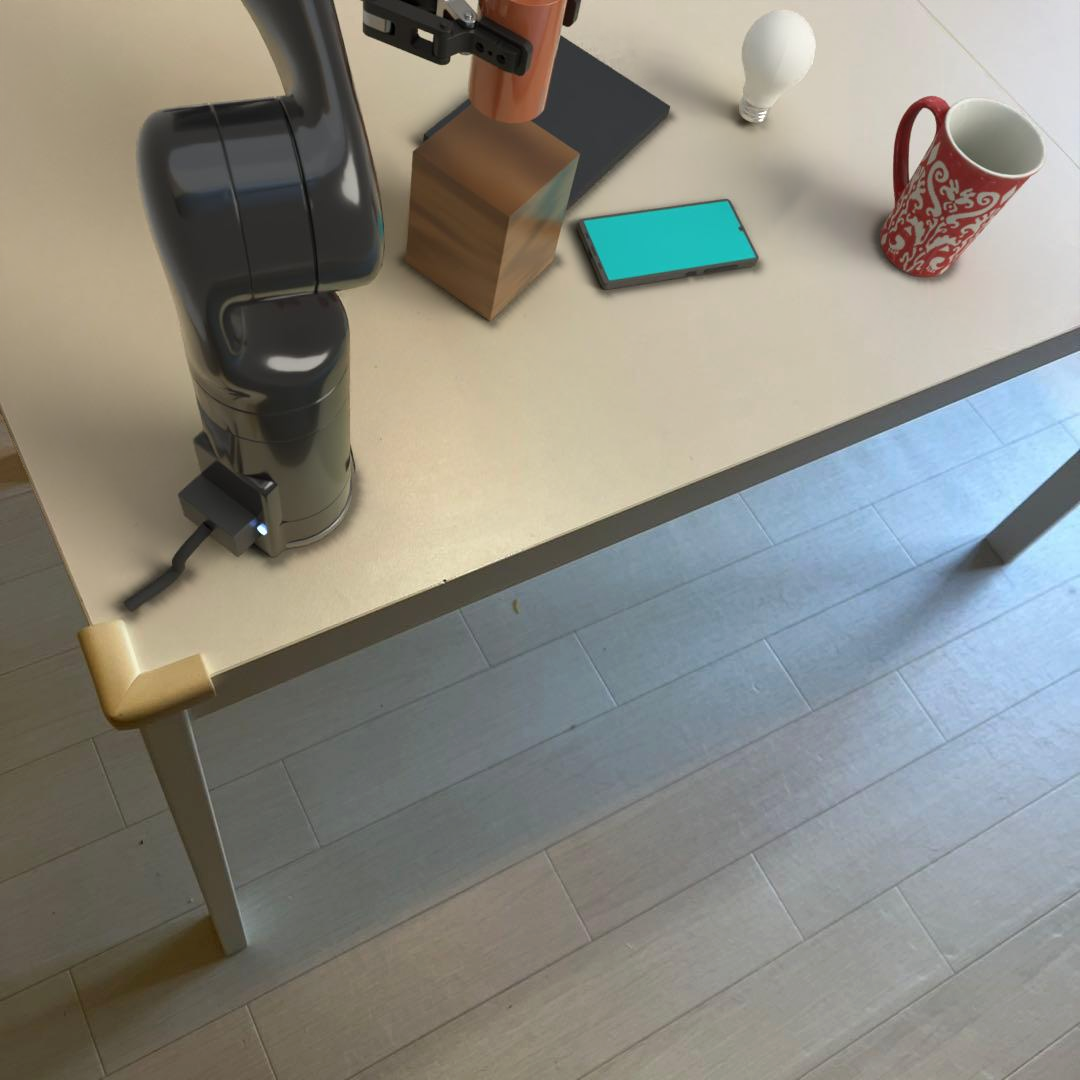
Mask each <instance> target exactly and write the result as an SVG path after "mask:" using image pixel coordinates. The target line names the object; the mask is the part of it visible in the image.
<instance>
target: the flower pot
mask: <svg viewBox="0 0 1080 1080" xmlns="http://www.w3.org/2000/svg"><path fill="white" fill-rule="evenodd" d="M567 1H568V0H477V6H476V13H477V15H478V20H477V21H479V20H481V19H482V18H483V17H484V16H485V17H487V18H489V19H491V20H492V21H494V22H496V23H498V24H499V25H501V26H503V27H505V28H507V29H509V30H511V31H512V32H514V33H516V34H518V35H520V36H522V37H523V38H525V39H527V40H529V41H530V42H531V44H532V45H533V54H532V60H531V65H530V69H529V70H528V71H527V72H526V73H525V74H524V75H523V76H517V75H516V74H514V73H509V72H505V71H503V70H501V69H499V68H497V66H494V65H492V64H491V63H488V62H486V61H485V60H483V59H481V58H479V57H477V56H476V55H474V54H471V55H470V61H469V64H470V65H469V69H468V70H469V72H468V78H467V79H468V80H467V87H466V90H467V92H466V93H467V97H468V99H470V101H471V103H472V104H473V105H474V107H475V108H476V109H477V110H478V111H479V112H481V113H482V114H484V115H485V116H487V117H489V118H491V119H494V120H496V121H500V122H505V123H523V122H527V121H530V120H532V119H534V118H536V117H537V116H539V115H540V114H541V113H542V111H543V110H544V108H545V106H546V102H547V97H548V92H549V88H550V83H551V78H552V73H553V68H554V63H555V59H556V54H557V49H558V44H559V39H560V35H561V33H562V30H563V20H564V15H565V10H566V6H567ZM561 36H562V35H561Z"/></svg>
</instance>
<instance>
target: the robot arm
mask: <svg viewBox="0 0 1080 1080" xmlns="http://www.w3.org/2000/svg"><path fill="white" fill-rule="evenodd" d="M240 1H241V3H242V5H243V6H244V8H245V9H246V11H247V13H248V14H249V16H250V18H251V20H252V21H253V24H254V25H255V27H256V29H257V31H258V32H259V35H260V37H261V38H262V40H263V42H264V44H265V46H266V49H267V50H268V53H269V55H270V57H271V60H272V62H273V64H274V67H275V69H276V71H277V74H278V77H279V80H280V82H281V86H282V88H283V89H282V90H283V92H284V94H283V95H277V96H265V97H255V98H246V99H245V98H244V99H236V100H235V99H234V100H224V101H216V102H210V103H209V102H205V103H204V102H203V103H195V104H186V105H177V106H170V107H164V108H160V109H155V111H152V112H151V113H149V114H148V115H147V116H146V117H145V118H144V120H143V122H142V124H141V126H140V128H139V131H138V135H137V140H136V145H135V146H136V147H135V167H136V175H137V182H138V188H139V194H140V199H141V204H142V207H143V211H144V214H145V218H146V221H147V225H148V228H149V232H150V236H151V238H152V242H153V244H154V247H155V251H156V253H157V256H158V260H159V261H160V262H159V263H160V265H161V268H162V271H163V274H164V276H165V279H166V282H167V285H168V288H169V291H170V294H171V297H172V301H173V304H174V307H175V312H176V317H177V321H178V324H179V329H180V334H181V339H182V345H183V349H184V355H185V359H186V362H187V366H188V370H189V373H190V378H191V382H192V386H193V390H194V395H195V399H196V403H197V408H198V411H199V412H198V413H199V416H200V421H201V425H202V428H203V429H202V430H201V431H199V432H198V433H197V434H196V435H194V437H193V438H192V445H193V448H194V452H195V456H196V460H197V464H198V468H199V471H200V473H199V474H198V475H197V476H196V477H195V478H193V479H192V480H191V481H190V482H189V483H188V484H187V485H186V486H185V487H184V488H182V489H181V490H180V491H179V492H178V493H177V497H178V499H179V503H180V506H181V509H182V512H183V515H184V517H186V518H187V519H188V520H189V521H191V522H192V523H193V524H194V525H196V526H197V528H196V529H195V531H194V532H193V533H191V535H190V536H189V537H188V538H187V539H185V541H184V542H183V543H182V545H181V546H180V547H179V548H178V549H177V551H176V552H175V553H174V555H173V557H172V558H171V566H170V567H169V568H168V569H167V570H166V571H165V572H163V573H162V574H161V575H160V576H158V578H156V579H155V580H153V581H152V582H151V583H149V584H148V585H147V586H144V587H143V588H141V589H140V590H139V591H137V592H135V593H134V594H132V595H131V596H129V597H128V598H127V599H126V600H124V601H123V602H122V603H123V605H124V607H125V608H127V609H128V611H130V612H131V613H133V612H134V611H135V610H137V609H138V608H140V607H141V606H142V605H144V604H146V603H147V602H148V601H150V600H152V599H153V598H154V597H156V596H157V595H159V594H160V593H162V592H163V591H164V590H166V589H167V588H168V587H169V586H171V585H172V584H174V583H175V581H176V580H177V579H178V578H179V577H180V576H181V575H182V574H183V572H184V571H185V569H186V562H187V561H188V559H189V558H190V557H191V556H192V555H193V553H194V552H195V551H196V550H197V549H198V548H199V547H200V545H201V544H202V543H203V542H204V541H205V540H206V539H207V538H208V537H211V538H212V539H214V540H215V541H216V542H218V543H219V544H220V545H221V546H223V547H224V548H225V549H226V550H228V551H229V553H231V554H233V555H234V556H235V557H236V558H239V557H241V556H242V554H244V553H245V552H246V551H247V550H248V549H249V548H250V547H251V546H252V545H253V544H255V545H256V546H257V547H259V549H261V550H262V551H263V552H264V553H266V554H267V555H269V556H270V557H271V558H276V557H278V556H279V555H280V554H282V552H283V551H285V550H286V549H292V548H299V547H300V548H301V547H305V546H307V545H310V544H313V543H315V542H318V541H320V540H321V539H323V538H325V537H327V536H328V535H329V534H331V533H332V532H333V531H334V530H335V529H336V528H337V527H338V526H339V525H340V524H341V523H342V521H343V520H344V518H345V517H346V515H347V513H348V512H349V511H348V510H349V509H350V506H351V503H352V497H353V480H352V474H351V472H352V471H351V469H352V468H351V467H353V471H354V473H356V463H355V457H354V453H353V449H352V443H351V330H350V322H349V317H348V314H347V311H346V308H345V305H344V304H343V302H342V300H341V298H340V296H339V295H338V293H337V292H342V291H348V290H353V289H357V288H361V287H364V286H367V285H369V284H371V283H372V282H373V281H374V280H375V279H377V277H378V276H379V274H380V272H381V269H382V266H383V263H384V256H385V249H386V239H385V236H386V234H385V219H384V209H383V202H382V198H381V191H380V186H379V179H378V175H377V171H376V166H375V162H374V157H373V152H372V149H371V145H370V140H369V136H368V132H367V127H366V123H365V120H364V116H363V112H362V108H361V104H360V99H359V96H358V92H357V88H356V85H355V80H354V75H353V72H352V69H351V65H350V60H349V56H348V52H347V50H346V44H345V41H344V37H343V32H342V29H341V24H340V20H339V17H338V13H337V8H336V5H335V0H240ZM360 2H362V33H363V34H364V36H366V37H369V38H371V39H374V40H376V41H378V42H381V43H384V44H386V45H388V46H391V47H394V48H395V49H398V50H401V51H403V52H406V53H408V54H411V55H413V56H416V57H418V58H420V59H424V60H426V61H428V62H430V63H433V64H436V65H438V66H446V65H448V64H450V62H451V57H452V56H455V55H457V54H459V55H461V56H471V54H474V55H476V56H477V57H479V58H481V59H483V60H485V61H486V62H488V63H491V64H492V65H494V66H497V68H499V69H501V70H503V71H505V72H509V73H514V74H516V75H517V76H523V75H524V74H525V73H526V72H527V71H528V70H529V69H530V65H531V60H532V54H533V45H532V44H531V42H530V41H529V40H527V39H525V38H523V37H522V36H520V35H518V34H516V33H514V32H512V31H511V30H509V29H507V28H505V27H503V26H501V25H499V24H498V23H496V22H494V21H492V20H491V19H489V18H487V17H485V16H484V17H483V18H482V19H481V20H479V21H477V20H478V15H477V11H475V10H474V9H473V8H472V6H471V5H470V4H469V3H468V2H467V1H466V0H360ZM581 4H582V0H568V1H567V6H566V10H565V15H564V20H563V25H562V27H566V28H570V27H572V26H573V25H574V24H575V22H577V20H578V17H579V13H580V9H581V8H580V7H581ZM419 30H420V31H423V32H425V33H428V34H430V35H432V41H431V40H429V39H426V38H424V37H421V35H420V34H419ZM351 462H352V465H351Z"/></svg>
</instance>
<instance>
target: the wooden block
mask: <svg viewBox="0 0 1080 1080" xmlns="http://www.w3.org/2000/svg"><path fill="white" fill-rule="evenodd" d="M579 156H580V153H578V152H577V151H575V150H574V149H572V148H571V147H569V146H568V145H566V144H565V143H563V142H562V141H560V140H559V139H557V138H556V137H554V136H553V135H551V134H550V133H548V132H547V131H545V130H544V129H542V128H541V127H539V126H538V125H536V124H535V123H533V122H532V121H527V122H523V123H505V122H500V121H496V120H494V119H491V118H489V117H487V116H485V115H484V114H482V113H481V112H479V111H478V110H477V109H476V108H475V107H474V105H473V104H471V105H470V106H469V107H467V108H466V109H465V110H464V111H462V112H461V113H460V114H459V115H457V116H456V117H455V118H454V119H452V120H451V121H450V122H449V123H447V124H446V125H445V126H444V127H442V128H441V129H440V130H439V131H437V132H436V133H435V134H434V135H432V136H431V137H430V138H429V139H427V140H426V141H425V142H424V143H423V142H422V143H421V144H420V145H418V146H417V147H416V148H415V149H414V150H412V162H411V173H410V186H409V187H410V188H409V189H410V190H409V205H408V219H407V235H406V247H405V248H406V249H405V263H406V264H408V265H409V266H410V267H412V268H414V269H415V270H416V271H417V272H419V273H420V274H422V275H423V276H424V277H426V278H428V279H429V280H431V281H432V282H433V283H435V284H436V285H438V286H439V287H440V288H441V289H443V290H445V291H446V292H447V293H448V294H450V295H452V296H453V297H455V298H456V299H457V300H459V301H460V302H462V303H463V304H464V305H466V306H467V307H468V308H470V309H471V310H473V311H474V312H476V313H477V314H478V315H480V316H481V317H483V318H484V319H486V320H487V321H489V322H491V321H492V320H494V318H495V317H497V316H498V314H499V313H501V312H502V311H503V310H504V309H505V308H506V307H507V306H509V304H510V303H511V302H512V301H513V300H514V299H515V298H516V297H517V296H518V295H519V294H520V293H521V292H522V291H523V290H525V288H526V287H528V286H529V284H530V283H532V282H533V280H535V279H536V278H537V277H538V276H539V275H540V274H541V273H542V272H543V271H544V270H545V269H546V268H547V267H548V266H549V265H551V263H552V262H553V261H554V259H555V254H556V251H557V247H558V242H559V239H560V235H561V230H562V226H563V222H564V219H565V216H566V212H567V211H566V207H567V203H568V199H569V195H570V191H571V187H572V184H573V180H574V176H575V172H576V168H577V164H578V160H579ZM565 211H566V212H565Z"/></svg>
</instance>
